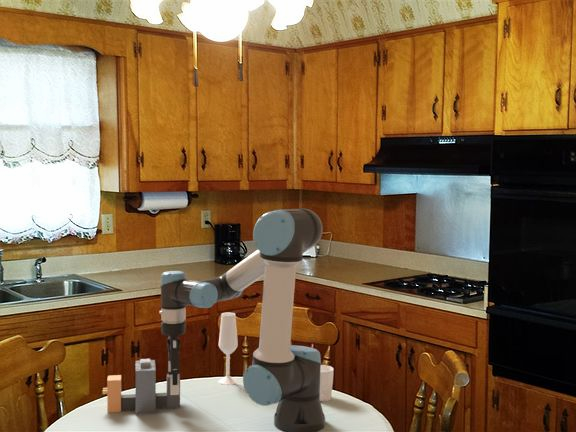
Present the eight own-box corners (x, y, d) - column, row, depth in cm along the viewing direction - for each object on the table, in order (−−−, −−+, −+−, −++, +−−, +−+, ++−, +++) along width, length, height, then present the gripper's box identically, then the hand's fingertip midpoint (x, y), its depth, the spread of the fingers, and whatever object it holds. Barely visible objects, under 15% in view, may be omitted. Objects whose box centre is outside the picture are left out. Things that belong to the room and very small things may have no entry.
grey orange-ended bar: (179, 403, 230) (179, 372, 230) (180, 408, 226) (180, 377, 225) (103, 407, 226) (103, 375, 225) (102, 412, 221) (102, 380, 220)
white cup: (331, 403, 233) (331, 372, 232) (306, 401, 235) (307, 371, 234) (334, 395, 241) (335, 365, 240) (311, 393, 242) (311, 364, 242)
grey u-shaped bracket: (154, 401, 232) (154, 355, 231) (155, 413, 221) (155, 365, 220) (135, 402, 231) (135, 356, 229) (135, 414, 220) (135, 366, 219)
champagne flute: (217, 384, 250) (218, 316, 248) (218, 378, 256) (219, 311, 254) (236, 384, 250) (237, 316, 248) (237, 378, 256) (238, 311, 254)
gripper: (159, 313, 237) (160, 376, 238) (162, 330, 212) (163, 401, 214) (183, 312, 238) (183, 375, 240) (188, 329, 214) (188, 399, 215)
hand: (173, 387), depth 227 cm, fingers open, 13 cm apart
